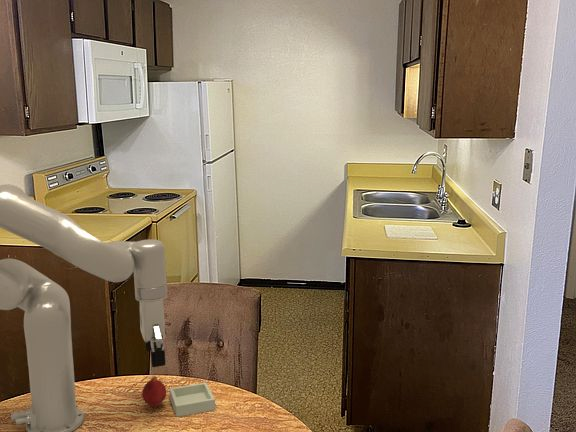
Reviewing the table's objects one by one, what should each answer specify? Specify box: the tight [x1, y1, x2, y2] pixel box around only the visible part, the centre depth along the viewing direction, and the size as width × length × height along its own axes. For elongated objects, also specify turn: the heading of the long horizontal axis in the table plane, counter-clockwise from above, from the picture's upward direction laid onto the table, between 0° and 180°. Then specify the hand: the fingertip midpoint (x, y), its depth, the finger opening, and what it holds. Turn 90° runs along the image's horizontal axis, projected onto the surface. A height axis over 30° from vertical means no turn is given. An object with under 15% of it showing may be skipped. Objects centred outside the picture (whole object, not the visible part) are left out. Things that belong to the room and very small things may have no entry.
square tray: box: [169, 382, 216, 418], centre depth 142 cm, size 10×10×3 cm
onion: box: [141, 376, 167, 408], centre depth 141 cm, size 6×6×8 cm
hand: (155, 357), depth 139 cm, fingers open, 9 cm apart
